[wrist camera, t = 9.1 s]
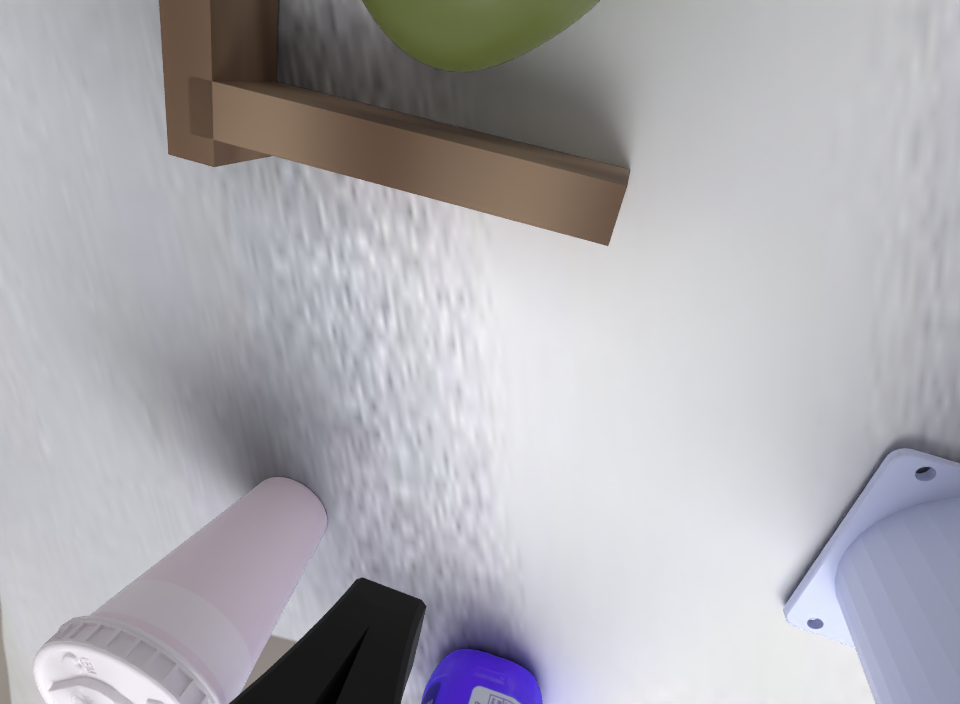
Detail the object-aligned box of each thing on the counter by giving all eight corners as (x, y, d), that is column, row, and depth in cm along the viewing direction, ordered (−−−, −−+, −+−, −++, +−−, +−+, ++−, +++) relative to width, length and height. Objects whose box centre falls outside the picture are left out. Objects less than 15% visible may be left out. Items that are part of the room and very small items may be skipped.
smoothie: (230, 431, 25) (-179, 771, 12) (364, 482, 24) (67, 900, 12) (227, 533, 28) (-105, 888, 15) (346, 582, 27) (95, 998, 15)
